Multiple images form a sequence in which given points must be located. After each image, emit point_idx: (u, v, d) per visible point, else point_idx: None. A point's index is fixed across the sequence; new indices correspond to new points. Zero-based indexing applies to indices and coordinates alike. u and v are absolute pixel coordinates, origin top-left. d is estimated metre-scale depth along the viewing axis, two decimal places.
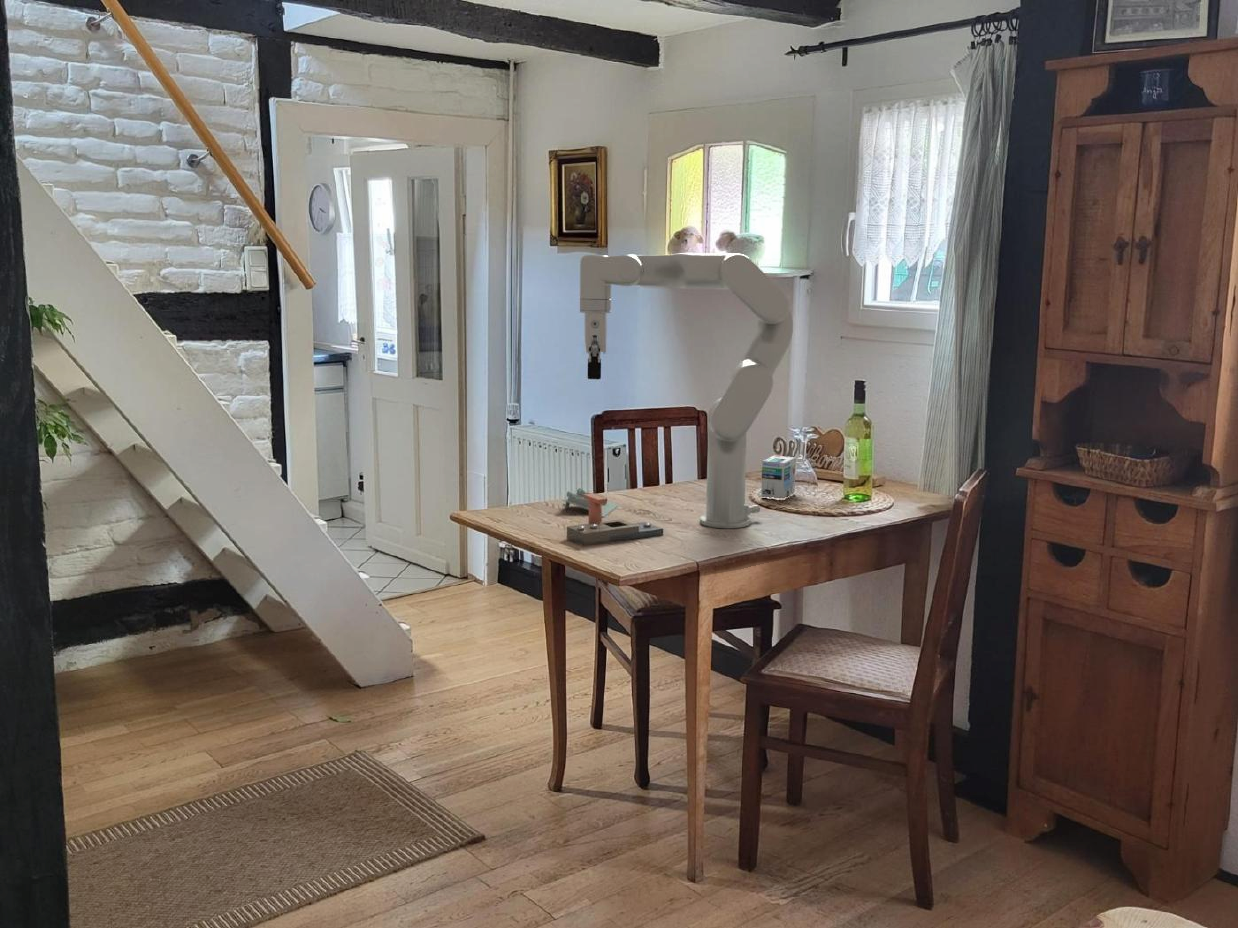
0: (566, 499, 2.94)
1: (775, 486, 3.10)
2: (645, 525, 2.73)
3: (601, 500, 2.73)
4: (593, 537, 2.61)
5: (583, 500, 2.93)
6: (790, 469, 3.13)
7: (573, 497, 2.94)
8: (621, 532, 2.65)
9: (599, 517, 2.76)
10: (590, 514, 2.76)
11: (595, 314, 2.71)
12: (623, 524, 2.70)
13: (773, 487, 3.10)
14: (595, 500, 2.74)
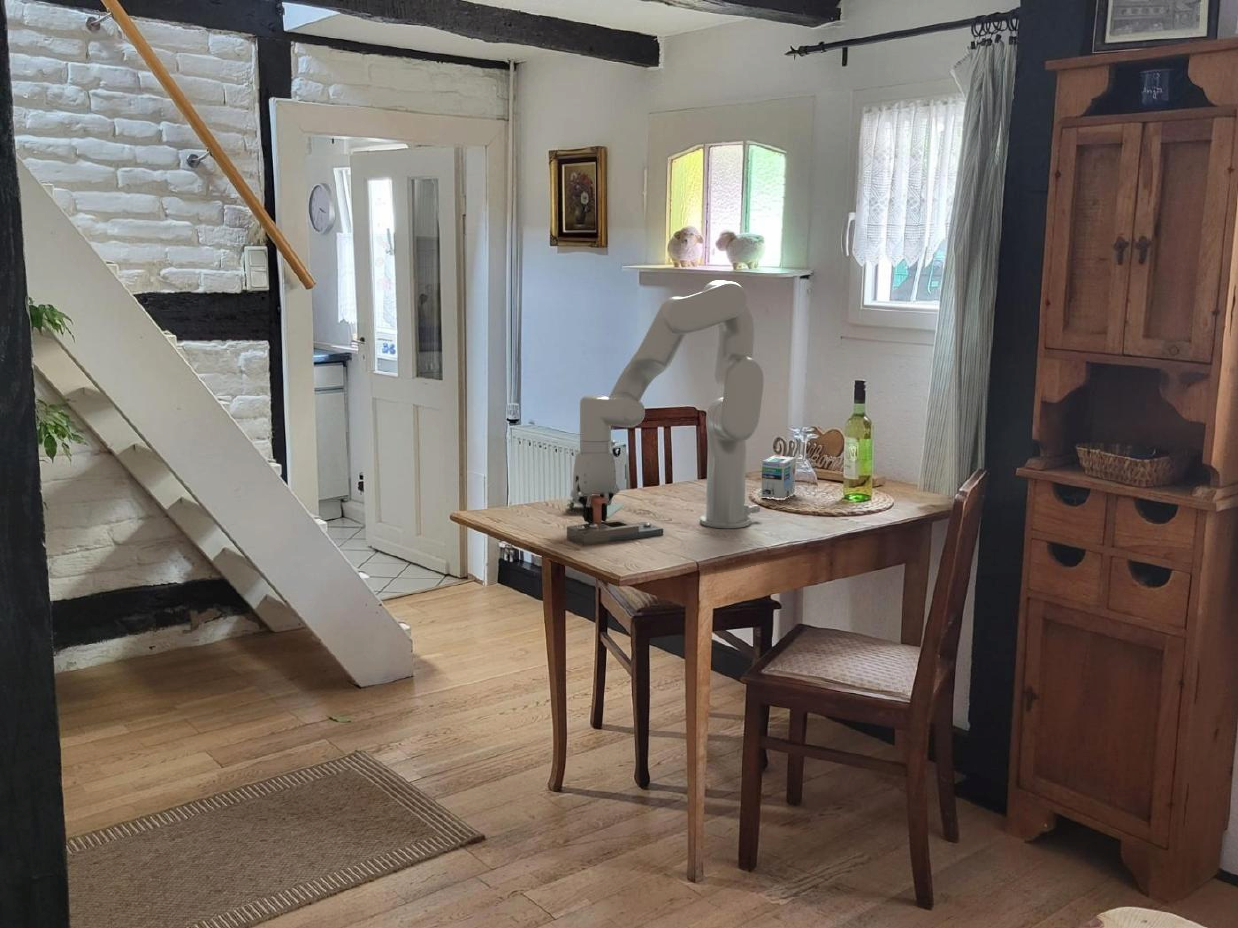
0: (571, 499, 2.94)
1: (775, 486, 3.10)
2: (645, 525, 2.73)
3: (601, 500, 2.73)
4: (593, 537, 2.61)
5: None
6: (790, 470, 3.13)
7: None
8: (621, 532, 2.65)
9: (599, 517, 2.76)
10: None
11: None
12: (623, 524, 2.70)
13: (773, 487, 3.10)
14: (595, 500, 2.74)
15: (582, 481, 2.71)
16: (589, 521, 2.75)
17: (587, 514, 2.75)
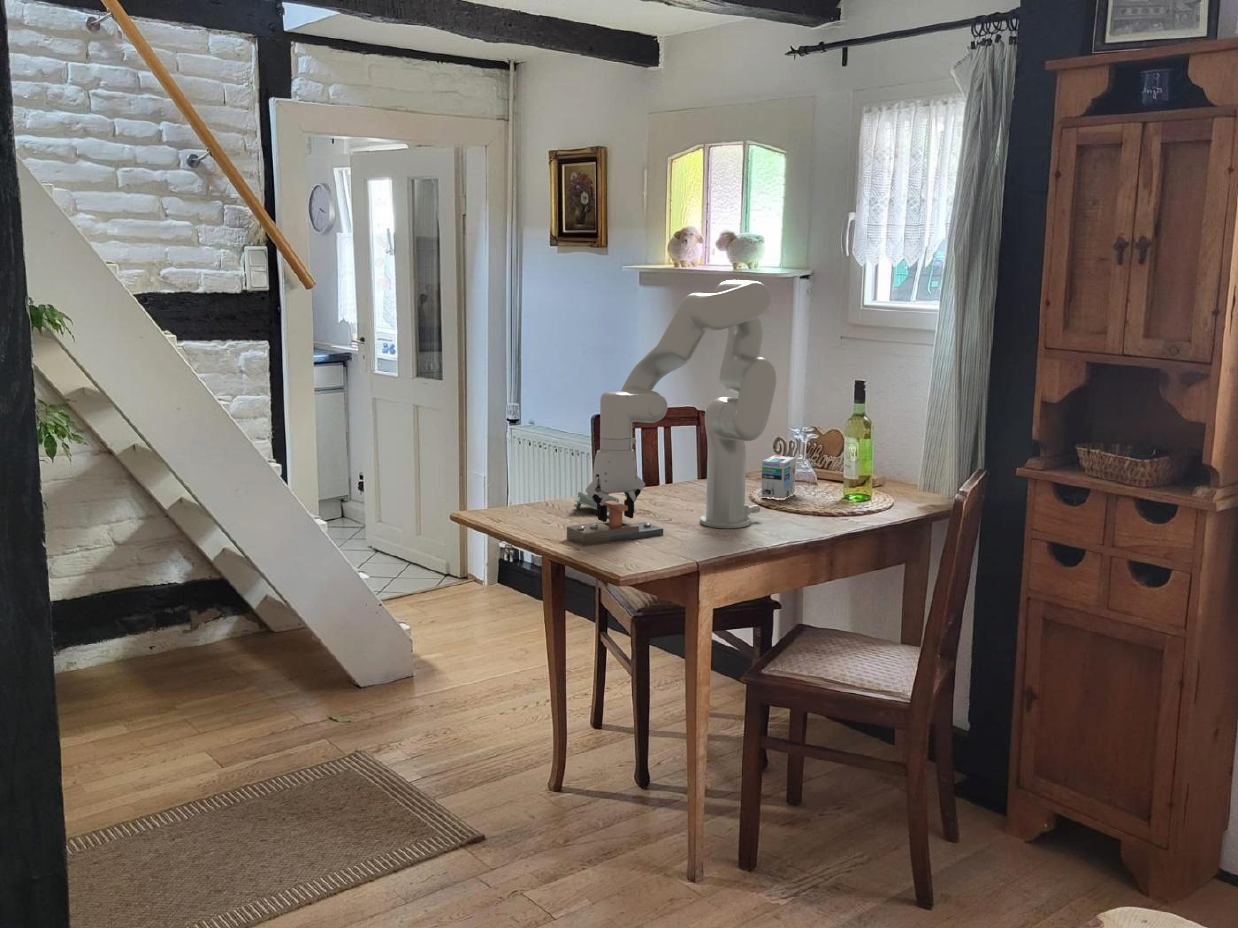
0: (577, 500, 2.94)
1: (775, 486, 3.10)
2: (645, 525, 2.73)
3: (622, 508, 2.65)
4: (593, 537, 2.61)
5: (594, 501, 2.93)
6: (790, 470, 3.13)
7: (584, 498, 2.93)
8: (621, 532, 2.65)
9: (620, 525, 2.68)
10: (610, 522, 2.68)
11: None
12: (623, 524, 2.70)
13: (773, 487, 3.10)
14: (616, 507, 2.66)
15: (603, 480, 2.63)
16: (603, 520, 2.66)
17: (601, 512, 2.65)
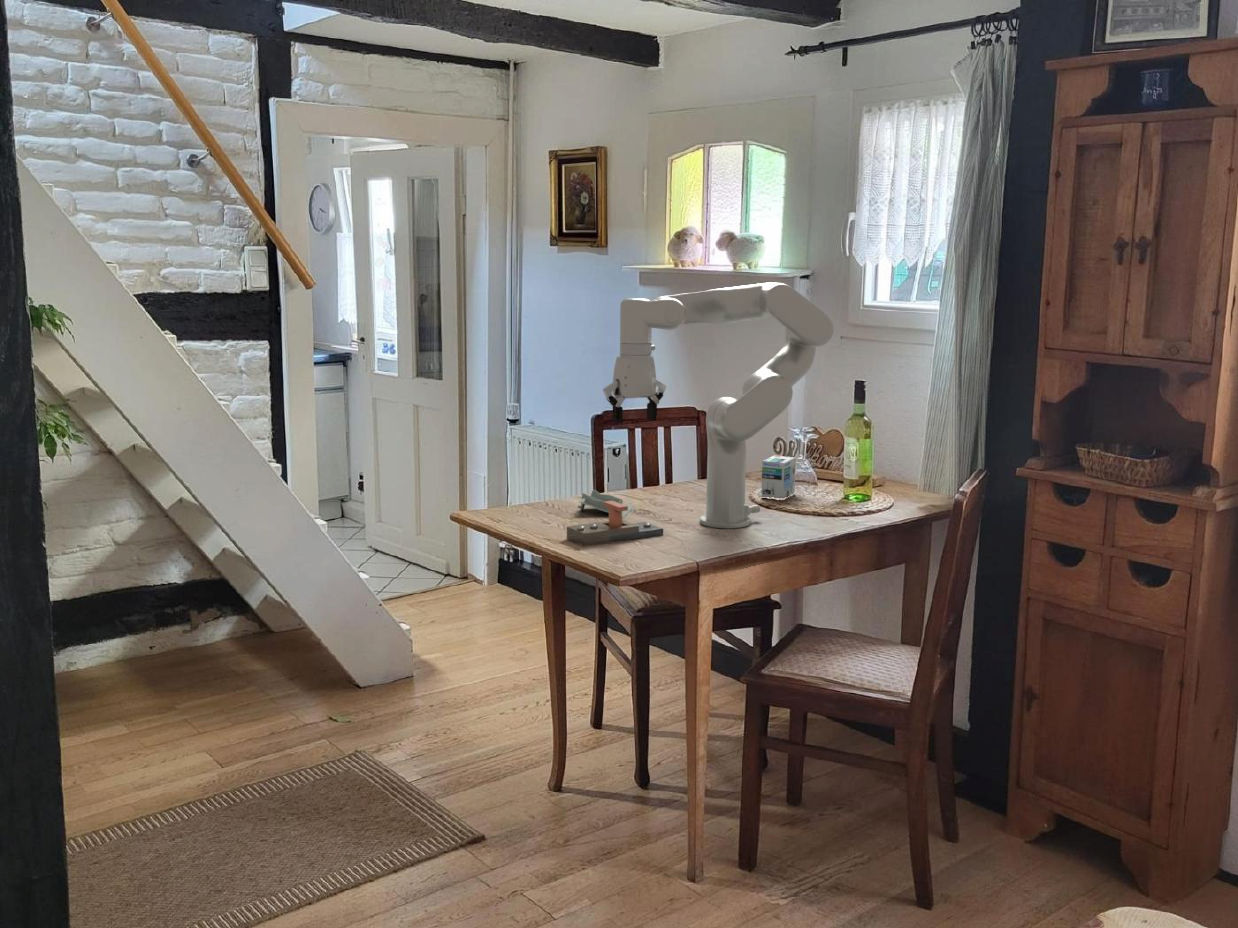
0: (582, 501, 2.92)
1: (775, 486, 3.10)
2: (645, 525, 2.73)
3: (622, 508, 2.65)
4: (593, 537, 2.61)
5: (600, 502, 2.91)
6: (790, 470, 3.13)
7: (590, 499, 2.92)
8: (621, 532, 2.65)
9: (620, 525, 2.68)
10: (610, 522, 2.68)
11: None
12: (623, 524, 2.70)
13: (773, 487, 3.10)
14: (616, 508, 2.66)
15: (622, 384, 2.69)
16: (619, 421, 2.71)
17: (617, 414, 2.70)
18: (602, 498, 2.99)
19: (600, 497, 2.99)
